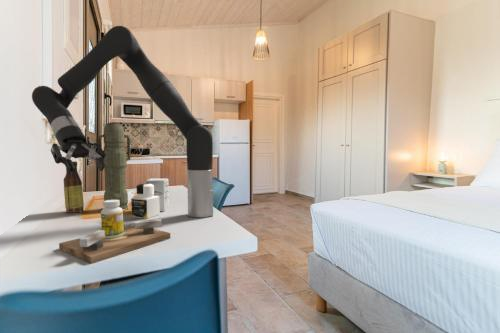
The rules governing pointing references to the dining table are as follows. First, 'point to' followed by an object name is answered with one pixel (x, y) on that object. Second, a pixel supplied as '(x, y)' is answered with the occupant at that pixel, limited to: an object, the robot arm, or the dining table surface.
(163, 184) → the supplement box
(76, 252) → the shaft board
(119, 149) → the thermos
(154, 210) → the medicine bottle
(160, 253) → the dining table surface
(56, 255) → the dining table surface
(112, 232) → the supplement bottle
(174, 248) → the dining table surface
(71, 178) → the sauce bottle
